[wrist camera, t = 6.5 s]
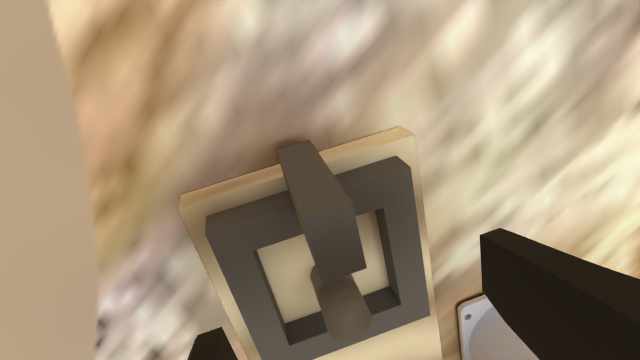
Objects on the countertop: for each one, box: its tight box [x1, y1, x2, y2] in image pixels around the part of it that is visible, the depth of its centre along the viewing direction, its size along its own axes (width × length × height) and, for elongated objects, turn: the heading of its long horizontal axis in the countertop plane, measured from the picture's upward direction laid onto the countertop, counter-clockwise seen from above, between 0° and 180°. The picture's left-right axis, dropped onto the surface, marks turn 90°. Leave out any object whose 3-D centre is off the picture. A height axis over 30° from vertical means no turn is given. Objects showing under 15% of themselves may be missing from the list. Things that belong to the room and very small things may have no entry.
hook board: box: [178, 126, 442, 360], centre depth 20 cm, size 20×11×5 cm, turn 14°
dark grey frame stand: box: [205, 140, 431, 360], centre depth 16 cm, size 11×9×6 cm
